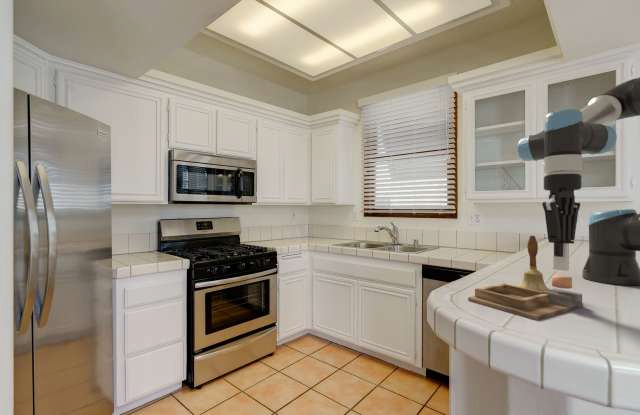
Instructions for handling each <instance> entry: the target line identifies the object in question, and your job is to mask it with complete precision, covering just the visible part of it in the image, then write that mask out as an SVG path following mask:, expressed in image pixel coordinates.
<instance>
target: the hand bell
mask: <svg viewBox="0 0 640 415" xmlns="http://www.w3.org/2000/svg"><path fill="white" fill-rule="evenodd" d="M526 245H527V251H528V252H527V253H528V255H529V269H527V270H525V271H524V273H523V279H522V281H521V282H520V284H518V285H517V287H522V288H527V289H531V290H536V291H541V292H542V291H546V290H550V288H549V287H547V285H546V283H545V281H544V276H543V275H544V274H543V272H542V271H540V270H538V268H537V254H538V252H539V251H538V250H539V246H538V241H537V239H536V236H535V235H530V236H529V238H528V241H527V244H526Z"/></svg>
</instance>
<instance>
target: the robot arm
mask: <svg viewBox="0 0 640 415" xmlns="http://www.w3.org/2000/svg"><path fill="white" fill-rule="evenodd" d="M638 116H640V77H636V78H632V79H628V80H626V81H624V82H622V83H620V84H617V85H615V86H613V87H612V88H609V89H608V90H606V91H605V92H603V93H601V94H599V95H596V97H593V98H592V99H591V100H590V101H589V102H588V104H587V105H586V106H585V107H582V108H581V109H578V108H565V109H559V110H555V111H552V112H549V113H548V114H547V115H546V116H545V117H544V126H543V130H542V131H540V132H538V133H536V134H531V135H528V136H524V137H522V138H520V140H519V141H518V143H517V145H516V146H517V147H516V150H517V154H518V157H519V158H520V159H521V160H523V161H525V162H531V161H535V162H537V161H541V160H543V163H542V165H543V172H544V174H546V175H544V177H543V189H544V191H549V194H548V200H547V201H543V202H542V204H541V206H542V208H543V210H544V217H545V224H546V232H547V233H546V234H547V241H548V243H552V244H553V270H557V271H565V272H569V271H570V244H572V245H573V244H575V239H576V232H577V231H576V230H577V223H578V216H579V210H580V209H581V208H580V207H581V202H576V196H575V191H577V190H578V191H579V190H581V189H582V174H580V173H581V172H582V170H583V159H582V158H583V156H582V155H587V154H589V155H601V154H605V153H607V152H608V151H610V150H612V148H613V147H614V145H615V144H616V143H617V133H616V131H615V129H614V128H613V127H610V126H609V124H612V123H614V122H616V121H619V120H623V119H628V118H633V117H638ZM588 219H589V220H588V225H587V226H588V257H587V260H586V261H585V264H584V267H583V268H582V272H581V273H582V278H583V279H585V280H589V281H591V282H592V281H593V282H598V283H603V284H610V285H622V286H623V285H624V286H640V266H639V263H638V260H637V259H636V257H637V252H640V213H638V212H637V211H636V209H633V208H631V209H629V208H628V209H614V210H611V209H610V210H602V211H595V212H592V213H591V214H590V215H589V218H588Z"/></svg>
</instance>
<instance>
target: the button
mask: <svg viewBox="0 0 640 415" xmlns="http://www.w3.org/2000/svg"><path fill="white" fill-rule="evenodd" d="M551 286H552V287H554V288H556V289H566V290H567V289H572V288H573V277H571V276H567V275H562V274H561V275H559V274H553V275H551Z"/></svg>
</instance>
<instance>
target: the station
mask: <svg viewBox="0 0 640 415" xmlns="http://www.w3.org/2000/svg"><path fill="white" fill-rule="evenodd" d="M467 301H469V302H473V303H476V304H480V305H483V306H485V307H486V306H487V307H490V308H493V309H496V310H500V311H503V312H507V313H510V314H514V315H518V316H522V317H524V318H527V319H528V318H529V319H532V320H536V321H538V320H542V319H545V318H549V317H552V316H555V315H556V316H557V315H559V314H563V313H566V312H570V311H573V310H576V309H580V308H581V309H582V308H583V307H584V303H583V293H580V292H579V293H578V292H576V291H575V292H574V291H569V290H565V289H561V288H551V289H549V290H546V291H542V292H541V291H536V290H531V289H527V288H522V287H518V285H512V284H508V283H500V284H495V285H494V284H493V285H488V286H483V287H478V288H474V295H473V296H472V295H471V296H469V297H467Z"/></svg>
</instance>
